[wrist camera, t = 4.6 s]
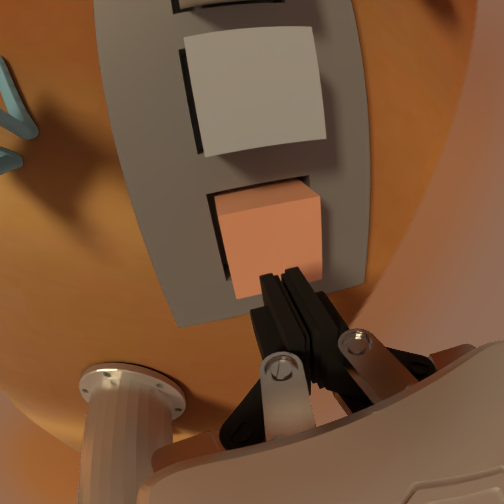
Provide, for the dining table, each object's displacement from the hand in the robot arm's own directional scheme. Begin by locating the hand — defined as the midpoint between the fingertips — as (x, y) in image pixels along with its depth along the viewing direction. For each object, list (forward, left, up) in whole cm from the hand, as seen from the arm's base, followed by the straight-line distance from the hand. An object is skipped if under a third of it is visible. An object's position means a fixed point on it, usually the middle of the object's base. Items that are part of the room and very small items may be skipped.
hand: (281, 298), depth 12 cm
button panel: (+9, -1, -8) cm, 12 cm away
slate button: (+9, -1, -6) cm, 10 cm away
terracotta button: (+1, -1, -7) cm, 7 cm away
